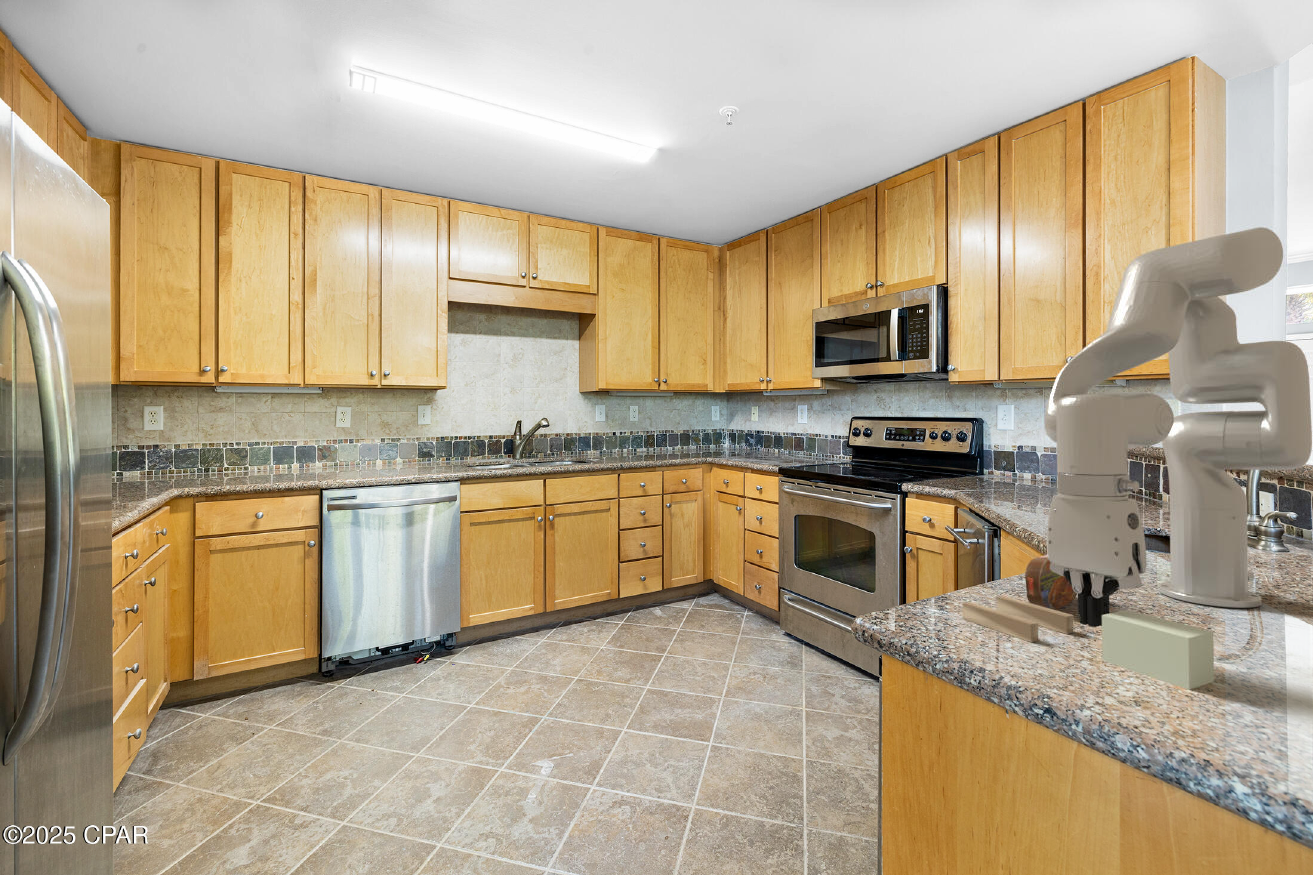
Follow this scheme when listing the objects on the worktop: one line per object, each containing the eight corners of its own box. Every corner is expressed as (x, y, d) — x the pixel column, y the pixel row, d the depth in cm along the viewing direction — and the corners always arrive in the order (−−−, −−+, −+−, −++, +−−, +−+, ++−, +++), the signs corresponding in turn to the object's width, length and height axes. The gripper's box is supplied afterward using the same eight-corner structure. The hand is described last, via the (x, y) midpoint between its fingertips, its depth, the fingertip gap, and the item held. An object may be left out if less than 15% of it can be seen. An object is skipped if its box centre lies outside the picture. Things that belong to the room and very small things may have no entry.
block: (1126, 655, 76) (1126, 609, 76) (1213, 682, 67) (1213, 631, 67) (1102, 661, 74) (1101, 615, 74) (1189, 690, 65) (1188, 638, 65)
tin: (1043, 616, 91) (1042, 563, 91) (1021, 611, 94) (1020, 559, 94) (1081, 598, 100) (1080, 550, 100) (1060, 594, 102) (1060, 547, 102)
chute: (1003, 611, 94) (1002, 595, 94) (1073, 632, 84) (1073, 615, 84) (962, 619, 91) (962, 603, 91) (1031, 642, 80) (1030, 624, 80)
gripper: (1176, 490, 71) (1178, 637, 71) (1053, 481, 85) (1055, 605, 85) (1139, 494, 68) (1141, 647, 69) (1018, 484, 82) (1020, 612, 82)
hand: (1093, 623), depth 77 cm, fingers closed
